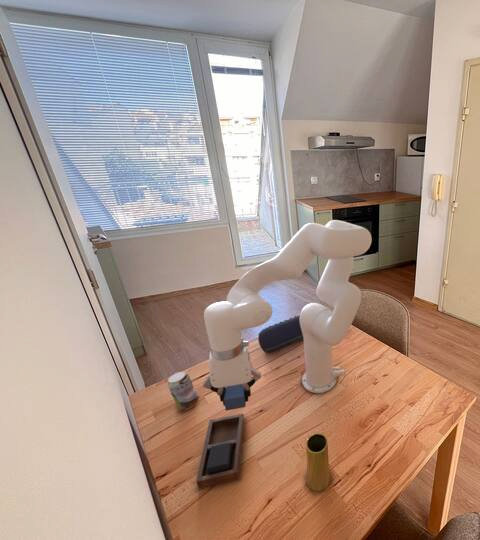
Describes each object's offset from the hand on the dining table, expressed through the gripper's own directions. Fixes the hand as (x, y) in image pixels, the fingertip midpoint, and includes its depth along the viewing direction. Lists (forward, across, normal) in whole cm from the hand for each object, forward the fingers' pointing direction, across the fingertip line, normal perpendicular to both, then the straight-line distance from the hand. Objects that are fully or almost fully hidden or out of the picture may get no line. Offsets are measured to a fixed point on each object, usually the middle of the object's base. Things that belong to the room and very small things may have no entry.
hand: (236, 399), depth 83 cm
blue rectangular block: (0, 0, 0) cm, 0 cm away
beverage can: (+14, +18, -16) cm, 28 cm away
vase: (+14, -20, +19) cm, 31 cm away
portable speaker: (+13, -16, -41) cm, 46 cm away
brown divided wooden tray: (+14, +5, +5) cm, 15 cm away
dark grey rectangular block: (+13, +4, +9) cm, 17 cm away
